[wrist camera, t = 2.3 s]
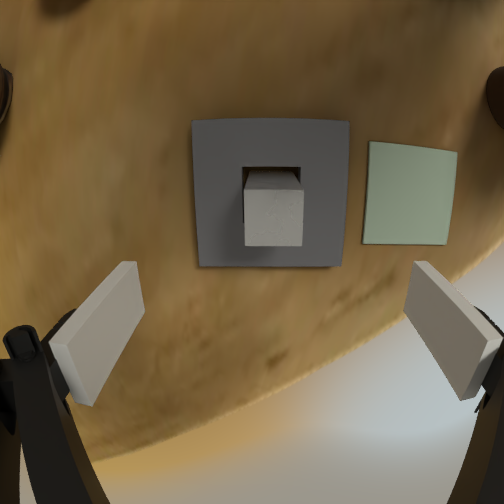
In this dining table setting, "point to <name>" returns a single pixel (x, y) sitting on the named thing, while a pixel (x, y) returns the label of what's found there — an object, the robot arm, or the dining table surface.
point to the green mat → (408, 194)
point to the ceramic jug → (5, 91)
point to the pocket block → (270, 154)
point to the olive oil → (496, 94)
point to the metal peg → (273, 209)
